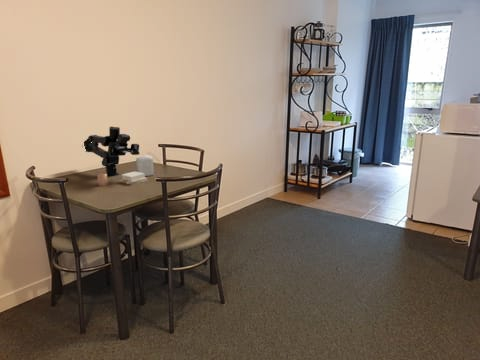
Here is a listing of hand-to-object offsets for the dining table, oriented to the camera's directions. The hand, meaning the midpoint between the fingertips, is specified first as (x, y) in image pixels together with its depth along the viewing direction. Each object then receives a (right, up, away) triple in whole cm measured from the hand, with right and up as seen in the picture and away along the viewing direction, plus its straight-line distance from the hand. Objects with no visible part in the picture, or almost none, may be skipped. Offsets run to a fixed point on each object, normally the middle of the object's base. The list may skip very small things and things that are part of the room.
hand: (132, 154), depth 203 cm
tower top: (-1, -14, +5) cm, 15 cm away
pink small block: (-16, -17, 0) cm, 24 cm away
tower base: (-1, -16, +6) cm, 17 cm away
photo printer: (+3, -12, +18) cm, 22 cm away
